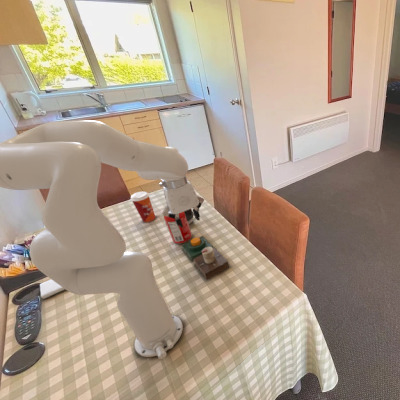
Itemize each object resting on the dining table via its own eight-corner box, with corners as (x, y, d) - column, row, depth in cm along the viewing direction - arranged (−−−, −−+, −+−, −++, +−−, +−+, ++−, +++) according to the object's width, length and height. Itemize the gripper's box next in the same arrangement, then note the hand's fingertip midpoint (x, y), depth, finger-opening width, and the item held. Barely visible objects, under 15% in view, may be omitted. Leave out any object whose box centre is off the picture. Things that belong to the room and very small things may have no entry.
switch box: (213, 250, 112) (211, 243, 110) (192, 261, 106) (189, 253, 104) (203, 239, 118) (201, 232, 116) (183, 249, 113) (180, 242, 111)
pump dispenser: (188, 215, 135) (179, 189, 127) (200, 222, 130) (191, 195, 122) (168, 225, 128) (158, 198, 120) (180, 232, 123) (170, 204, 115)
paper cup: (152, 223, 130) (142, 198, 122) (137, 223, 130) (125, 198, 122) (161, 214, 136) (151, 190, 129) (146, 214, 136) (136, 190, 129)
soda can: (176, 247, 114) (165, 219, 106) (171, 239, 119) (160, 211, 111) (195, 239, 118) (185, 211, 110) (189, 231, 123) (179, 204, 115)
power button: (202, 243, 110) (201, 240, 109) (193, 247, 108) (192, 244, 107) (198, 239, 112) (197, 236, 112) (190, 243, 110) (189, 240, 109)
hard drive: (42, 286, 96) (84, 268, 104) (43, 299, 91) (87, 279, 99) (39, 283, 95) (82, 265, 103) (40, 296, 90) (85, 276, 98)
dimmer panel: (229, 267, 103) (227, 261, 102) (206, 279, 98) (204, 273, 96) (216, 253, 110) (214, 247, 108) (195, 264, 105) (192, 258, 103)
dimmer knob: (212, 254, 105) (209, 244, 102) (217, 260, 102) (214, 249, 100) (203, 260, 103) (199, 249, 100) (207, 265, 100) (204, 254, 97)
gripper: (152, 193, 88) (169, 236, 97) (203, 177, 98) (214, 217, 107) (146, 186, 93) (163, 227, 102) (195, 171, 103) (206, 210, 112)
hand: (189, 222), depth 105 cm, fingers open, 5 cm apart
